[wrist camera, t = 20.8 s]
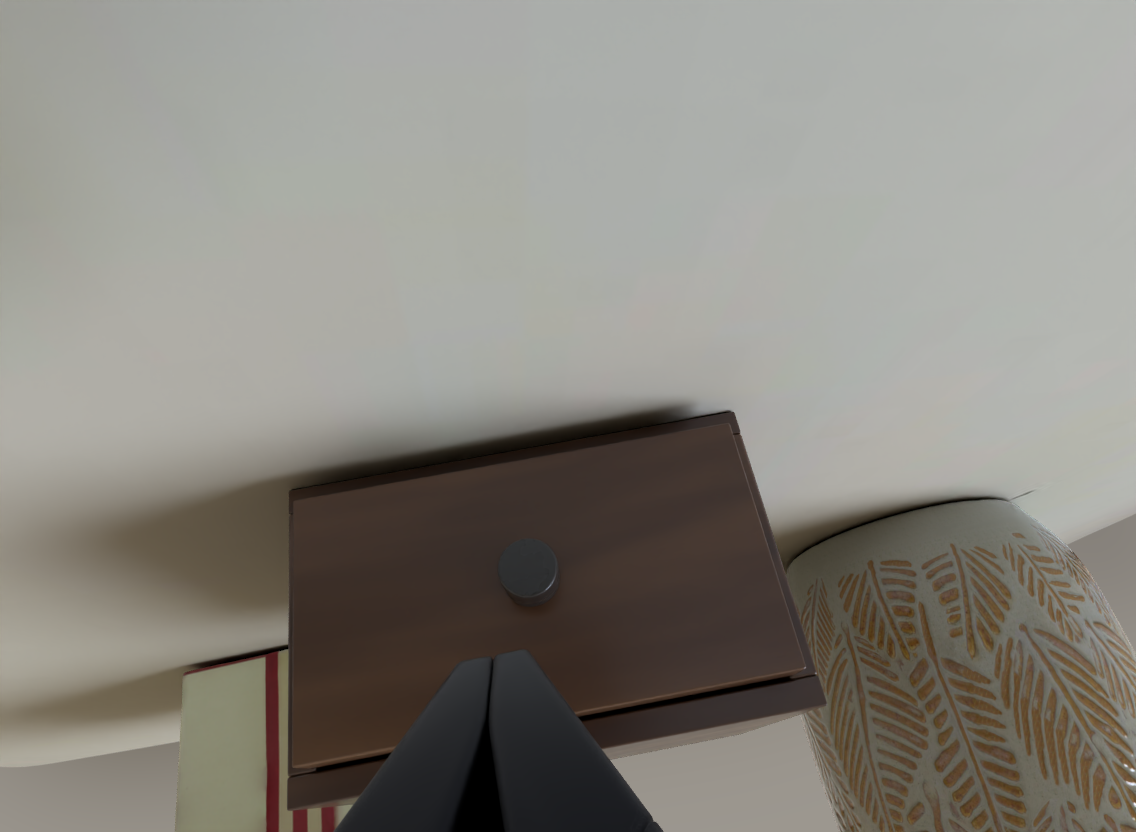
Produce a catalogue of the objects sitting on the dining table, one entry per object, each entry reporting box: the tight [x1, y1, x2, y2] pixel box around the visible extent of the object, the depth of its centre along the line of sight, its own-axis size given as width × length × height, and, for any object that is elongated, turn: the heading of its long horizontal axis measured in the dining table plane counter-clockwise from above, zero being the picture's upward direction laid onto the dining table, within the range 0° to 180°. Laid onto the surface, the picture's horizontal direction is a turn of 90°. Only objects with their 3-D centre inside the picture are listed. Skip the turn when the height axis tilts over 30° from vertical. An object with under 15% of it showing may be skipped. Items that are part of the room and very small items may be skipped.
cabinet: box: [287, 412, 827, 811], centre depth 27 cm, size 14×15×9 cm
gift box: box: [175, 649, 353, 832], centre depth 42 cm, size 17×18×17 cm
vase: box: [786, 500, 1136, 832], centre depth 37 cm, size 17×17×27 cm
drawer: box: [292, 423, 806, 769], centre depth 25 cm, size 14×13×7 cm
